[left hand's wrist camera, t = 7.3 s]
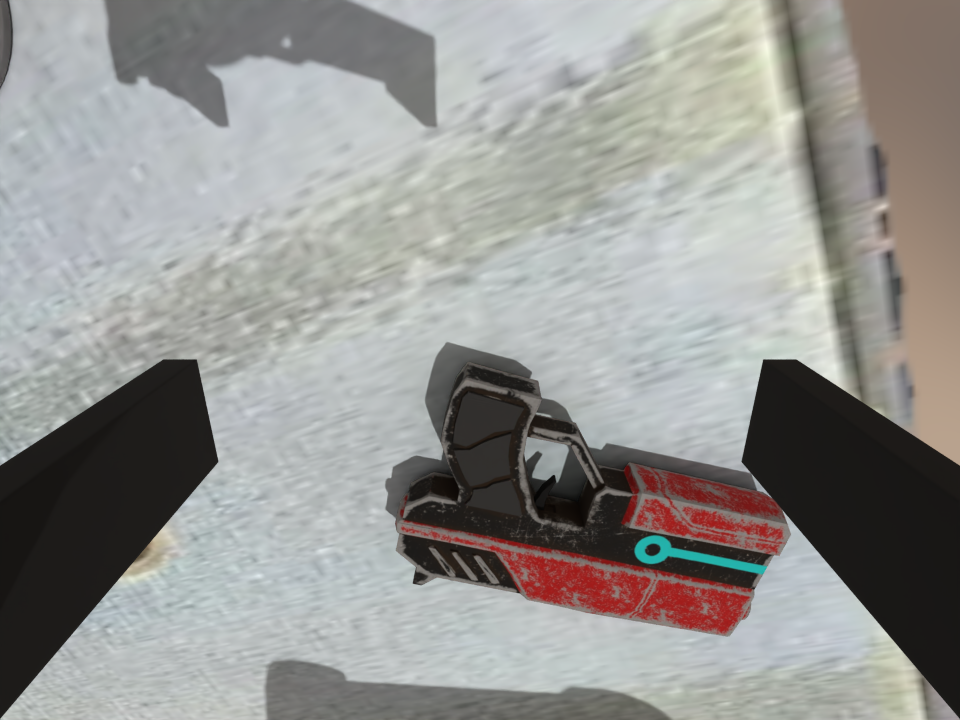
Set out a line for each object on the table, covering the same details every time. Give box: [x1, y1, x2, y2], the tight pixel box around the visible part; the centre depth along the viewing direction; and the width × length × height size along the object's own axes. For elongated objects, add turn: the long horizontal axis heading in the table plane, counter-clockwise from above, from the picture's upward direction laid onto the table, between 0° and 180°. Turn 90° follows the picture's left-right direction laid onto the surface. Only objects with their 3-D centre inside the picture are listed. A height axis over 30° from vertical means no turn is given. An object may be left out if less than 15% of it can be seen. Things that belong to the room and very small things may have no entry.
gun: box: [395, 362, 791, 636], centre depth 42 cm, size 4×31×19 cm
